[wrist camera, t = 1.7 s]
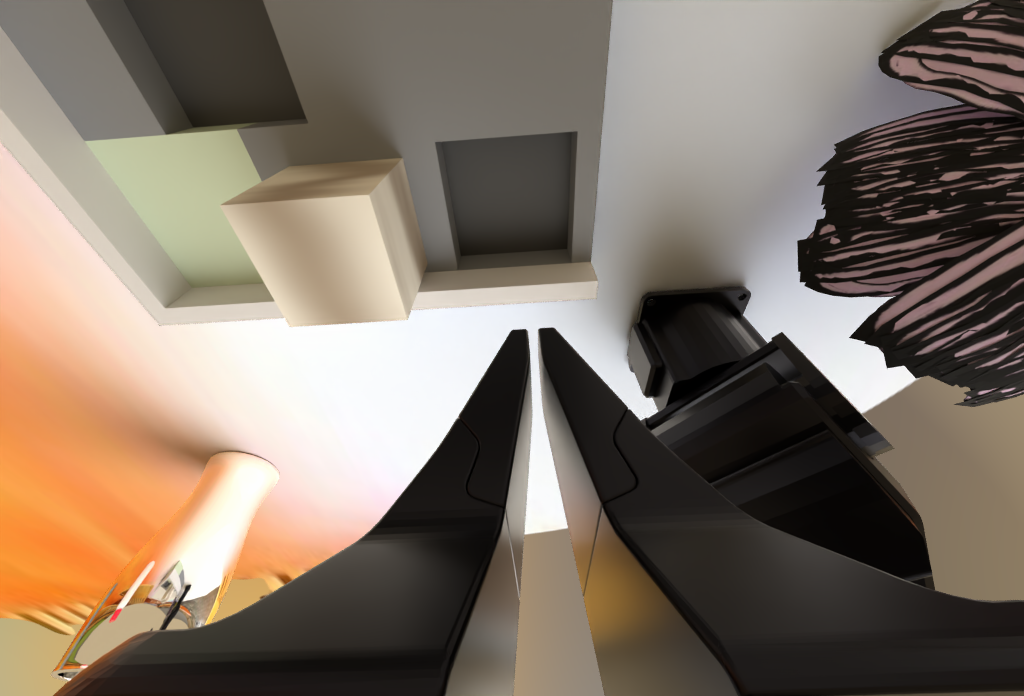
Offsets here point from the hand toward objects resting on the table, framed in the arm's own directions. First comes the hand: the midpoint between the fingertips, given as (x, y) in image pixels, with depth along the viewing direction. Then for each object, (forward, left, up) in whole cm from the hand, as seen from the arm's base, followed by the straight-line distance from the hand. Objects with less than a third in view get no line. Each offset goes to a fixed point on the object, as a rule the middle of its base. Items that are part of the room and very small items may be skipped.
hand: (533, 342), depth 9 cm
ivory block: (+7, 0, -10) cm, 12 cm away
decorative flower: (-20, +1, -12) cm, 23 cm away
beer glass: (+27, +24, -12) cm, 38 cm away
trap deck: (+8, -4, -12) cm, 15 cm away
